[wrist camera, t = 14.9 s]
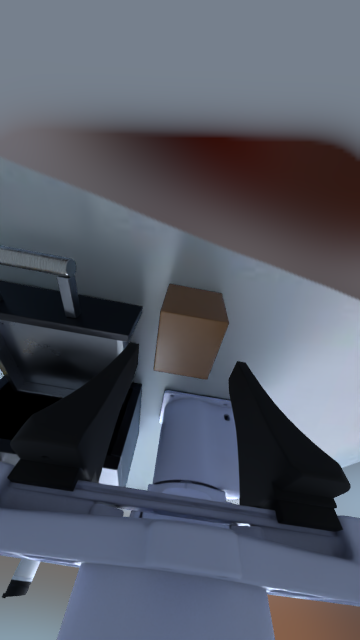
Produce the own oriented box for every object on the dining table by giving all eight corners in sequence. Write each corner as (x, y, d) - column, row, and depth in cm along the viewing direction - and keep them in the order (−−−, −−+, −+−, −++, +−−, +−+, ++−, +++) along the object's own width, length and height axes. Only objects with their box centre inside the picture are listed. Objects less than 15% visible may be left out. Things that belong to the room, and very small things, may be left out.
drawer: (145, 257, 14) (128, 277, 11) (138, 393, 24) (128, 426, 21) (-56, 219, 14) (-141, 228, 10) (22, 373, 24) (-8, 404, 20)
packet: (222, 293, 16) (229, 323, 12) (205, 344, 19) (207, 380, 15) (169, 283, 16) (160, 310, 12) (161, 336, 19) (153, 370, 15)
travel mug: (47, 505, 72) (2, 598, 55) (63, 509, 74) (25, 600, 57) (43, 508, 75) (0, 596, 58) (59, 511, 77) (22, 598, 60)
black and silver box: (142, 384, 24) (113, 481, 16) (138, 433, 32) (118, 515, 24) (17, 363, 23) (-78, 452, 15) (45, 418, 31) (-8, 496, 23)
